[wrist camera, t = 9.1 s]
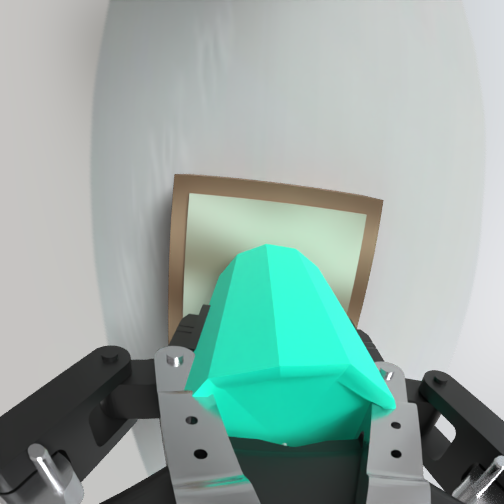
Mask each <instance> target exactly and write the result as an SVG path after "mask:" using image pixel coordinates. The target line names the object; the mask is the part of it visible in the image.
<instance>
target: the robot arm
mask: <svg viewBox="0 0 504 504" xmlns="http://www.w3.org/2000/svg"><path fill="white" fill-rule="evenodd" d="M210 306H211V305H206V304H203V305H202V308H201V310H200V313H199V315H195V314H188V315H186V316H185V317H183V318H182V319H181V321H180V323H179V325H178V327H177V329H176V331H175V333H174V335H173V337H172V339H171V341H170V343H169V345H168V346H167V347H163V348H161V349H159V350H158V351H157V352H156V353H155V355H154V359H149V360H131V358H130V354H129V352H128V351H127V350H125V349H124V348H121V347H118V346H103V347H100V348H97V349H95V350H94V351H92V352H91V353H90V354H88V355H87V356H86V357H84V358H83V359H81V360H80V361H79V362H77V363H75V364H74V365H73V366H71V367H70V368H69V369H67V370H65V371H64V372H63V373H61V374H60V375H58V376H57V377H56V378H54V379H53V380H51V381H50V382H48V383H47V384H46V385H44V386H43V387H41V388H40V389H39V390H37V391H36V392H35V393H33V394H32V395H30V396H29V397H27V398H26V399H25V400H23V401H22V402H20V403H19V404H18V405H16V406H15V407H13V408H12V409H11V410H9V411H8V412H6V413H5V414H4V415H2V416H1V417H0V504H80V503H81V501H82V500H83V496H84V489H83V486H82V484H81V482H82V481H83V479H84V478H86V476H87V475H88V474H89V473H90V472H91V471H92V470H93V469H94V468H95V467H96V466H97V465H98V463H99V462H100V461H101V460H102V459H103V458H104V457H105V456H106V455H107V454H108V453H109V452H110V450H111V449H112V448H113V447H114V446H115V445H116V444H117V443H118V442H119V441H120V439H121V438H122V437H123V436H124V435H125V434H126V433H127V432H128V431H129V430H130V428H131V427H132V426H133V425H134V424H135V423H136V421H137V420H138V419H149V418H159V420H160V427H161V434H162V441H163V448H164V454H165V460H166V467H164V468H163V469H161V470H159V471H158V472H156V473H154V474H153V475H151V476H149V477H148V478H146V479H144V480H142V481H141V482H139V483H137V484H135V485H134V486H132V487H130V488H128V489H126V490H125V491H123V492H121V493H119V494H117V495H115V496H113V497H111V498H109V499H107V500H106V501H104V502H101V503H99V504H504V421H503V420H501V419H500V418H499V417H498V416H497V415H496V414H495V413H493V412H492V411H491V410H490V409H489V408H488V407H486V406H485V405H484V404H483V403H482V402H481V401H479V400H478V399H477V398H476V397H475V396H473V395H472V394H471V393H470V392H469V391H468V390H466V389H465V388H464V387H463V386H462V385H460V384H459V383H458V382H457V381H456V380H455V379H453V378H452V377H451V376H450V375H448V374H446V373H444V372H441V371H436V370H432V371H428V372H426V373H425V375H424V377H423V379H422V381H418V380H412V379H406V378H405V376H404V372H403V371H402V370H401V369H400V368H399V367H398V366H396V365H394V364H392V363H389V362H384V360H383V358H382V357H381V355H380V354H379V352H378V350H377V349H375V348H376V347H375V345H374V344H373V343H372V341H371V339H370V337H369V336H368V335H367V334H366V333H364V332H363V331H362V330H358V329H356V327H355V325H354V324H353V322H352V320H351V319H350V318H349V320H350V321H351V323H352V325H353V326H354V328H355V330H356V331H357V333H358V335H359V337H360V338H361V340H362V342H363V344H364V345H365V347H366V349H367V351H368V352H369V354H370V356H371V358H372V359H373V361H374V363H375V365H376V367H377V368H378V370H379V372H380V374H381V376H382V377H383V379H384V381H385V383H386V385H387V387H388V388H389V390H390V392H391V394H392V396H393V398H394V400H395V404H396V408H395V409H384V408H382V407H381V406H379V405H377V404H375V403H373V402H371V403H370V405H369V407H368V410H367V412H366V414H365V416H364V418H363V421H362V423H361V425H360V427H359V429H358V431H357V433H356V435H355V437H354V439H350V440H327V441H323V442H319V443H314V444H309V445H304V446H299V447H290V446H285V445H281V444H276V443H272V442H268V441H264V440H260V439H251V438H239V437H229V436H228V434H227V432H226V429H225V426H224V424H223V421H222V418H221V415H220V413H219V410H218V407H217V404H216V401H215V398H214V395H213V394H211V395H210V396H208V397H196V396H192V394H193V391H192V390H184V388H185V385H186V382H187V379H188V376H189V373H190V370H191V367H192V364H193V361H194V358H195V354H194V353H193V352H194V351H195V350H196V347H197V344H198V341H199V338H200V335H201V332H202V329H203V327H204V324H205V321H206V318H207V315H208V312H209V309H210ZM441 414H442V415H443V416H444V417H445V418H446V419H447V420H448V421H449V422H450V423H451V424H452V425H453V426H454V427H455V430H456V436H455V439H454V440H453V442H452V443H451V442H450V441H449V440H448V439H447V438H446V437H445V436H444V435H443V434H442V433H441V432H440V431H439V430H438V429H437V428H436V427H435V426H434V425H435V423H436V422H437V420H438V418H439V417H440V415H441ZM423 466H425V468H426V469H427V470H428V471H429V473H430V474H431V475H432V476H433V478H434V479H435V480H436V481H437V482H438V484H439V485H440V486H441V487H442V488H443V490H444V491H443V490H441V489H440V488H438V487H436V486H434V485H433V484H431V483H430V482H428V481H427V480H425V479H424V476H423Z"/></svg>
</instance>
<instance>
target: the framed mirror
mask: <svg viewBox="0 0 504 504" xmlns="http://www.w3.org/2000/svg"><path fill="white" fill-rule="evenodd" d="M382 206H383V200H380V199H376V198H372V197H368V196H363V195H357V194H351V193H345V192H339V191H333V190H326V189H320V188H313V187H306V186H298V185H291V184H283V183H275V182H267V181H258V180H249V179H239V178H229V177H218V176H206V175H194V174H175V175H174V187H173V200H172V214H171V231H170V252H169V285H168V345H169V343H170V341H171V339H172V337H173V335H174V333H175V331H176V329H177V327H178V325H179V323H180V321H181V319H182V318H183V317H185V316H186V315H188V314H195V315H199V313H200V310H201V308H202V305H203V304H206V305H209V303H210V300H211V297H212V295H213V292H214V289H215V286H216V284H217V281H218V278H219V276H220V275H221V273H222V272H223V271H224V270H225V269H226V267H227V266H228V265H229V264H230V263H231V261H232V260H233V259H234V258H235V257H236V255H237V254H239V253H242V252H245V251H247V250H250V249H253V248H256V247H259V246H261V245H264V244H271V245H277V246H283V247H289V248H295V249H297V250H298V251H299V252H300V253H302V254H303V255H304V256H305V257H306V258H308V259H309V260H310V261H311V262H312V263H314V264H315V265H316V266H317V267H318V268H319V270H320V271H321V273H322V275H323V276H324V278H325V280H326V281H327V283H328V284H329V286H330V288H331V289H332V291H333V293H334V294H335V296H336V298H337V299H338V301H339V303H340V304H341V306H342V308H343V309H344V311H345V313H346V314H347V316H348V318H350V319H351V320H352V322H353V324H354V325H355V327H356V329H357V325H358V321H359V317H360V313H361V310H362V306H363V302H364V297H365V293H366V289H367V285H368V280H369V276H370V271H371V266H372V262H373V257H374V252H375V246H376V241H377V236H378V230H379V224H380V218H381V212H382Z"/></svg>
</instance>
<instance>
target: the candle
mask: <svg viewBox="0 0 504 504" xmlns="http://www.w3.org/2000/svg"><path fill="white" fill-rule="evenodd" d="M209 305H211V306H210V309H209V312H208V315H207V318H206V321H205V324H204V327H203V329H202V332H201V335H200V338H199V341H198V344H197V347H196V350H195V351H194V352H193V353H194V354H195V358H194V361H193V364H192V367H191V370H190V373H189V376H188V379H187V382H186V385H185V388H184V390H192V391H193V394H192V396H196V397H208V396H210V395H211V394H213V395H214V398H215V401H216V404H217V407H218V410H219V413H220V415H221V418H222V421H223V424H224V426H225V429H226V432H227V434H228V436H229V437H239V438H251V439H260V440H264V441H268V442H272V443H276V444H281V445H285V446H290V447H299V446H304V445H309V444H314V443H319V442H323V441H327V440H350V439H354V437H355V435H356V433H357V431H358V429H359V427H360V425H361V423H362V421H363V418H364V416H365V414H366V412H367V410H368V407H369V405H370V403H371V402H373V403H375V404H377V405H379V406H381V407H382V408H384V409H395V408H396V404H395V400H394V398H393V396H392V394H391V392H390V390H389V388H388V387H387V385H386V383H385V381H384V379H383V377H382V376H381V374H380V372H379V370H378V368H377V367H376V365H375V363H374V361H373V359H372V358H371V356H370V354H369V352H368V351H367V349H366V347H365V345H364V344H363V342H362V340H361V338H360V337H359V335H358V333H357V331H356V330H355V328H354V326H353V325H352V323H351V321H350V320H349V318H348V316H347V314H346V313H345V311H344V309H343V308H342V306H341V304H340V303H339V301H338V299H337V298H336V296H335V294H334V293H333V291H332V289H331V288H330V286H329V284H328V283H327V281H326V280H325V278H324V276H323V275H322V273H321V271H320V270H319V268H318V267H317V266H316V265H315V264H314V263H312V262H311V261H310V260H309V259H308V258H306V257H305V256H304V255H303V254H302V253H300V252H299V251H298V250H297V249H295V248H289V247H283V246H277V245H271V244H264V245H261V246H259V247H256V248H253V249H250V250H247V251H245V252H242V253H239V254H237V255H236V257H235V258H234V259H233V260H232V261H231V263H230V264H229V265H228V266H227V267H226V269H225V270H224V271H223V272H222V273H221V275H220V276H219V278H218V281H217V284H216V286H215V289H214V292H213V295H212V297H211V300H210V303H209Z"/></svg>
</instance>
